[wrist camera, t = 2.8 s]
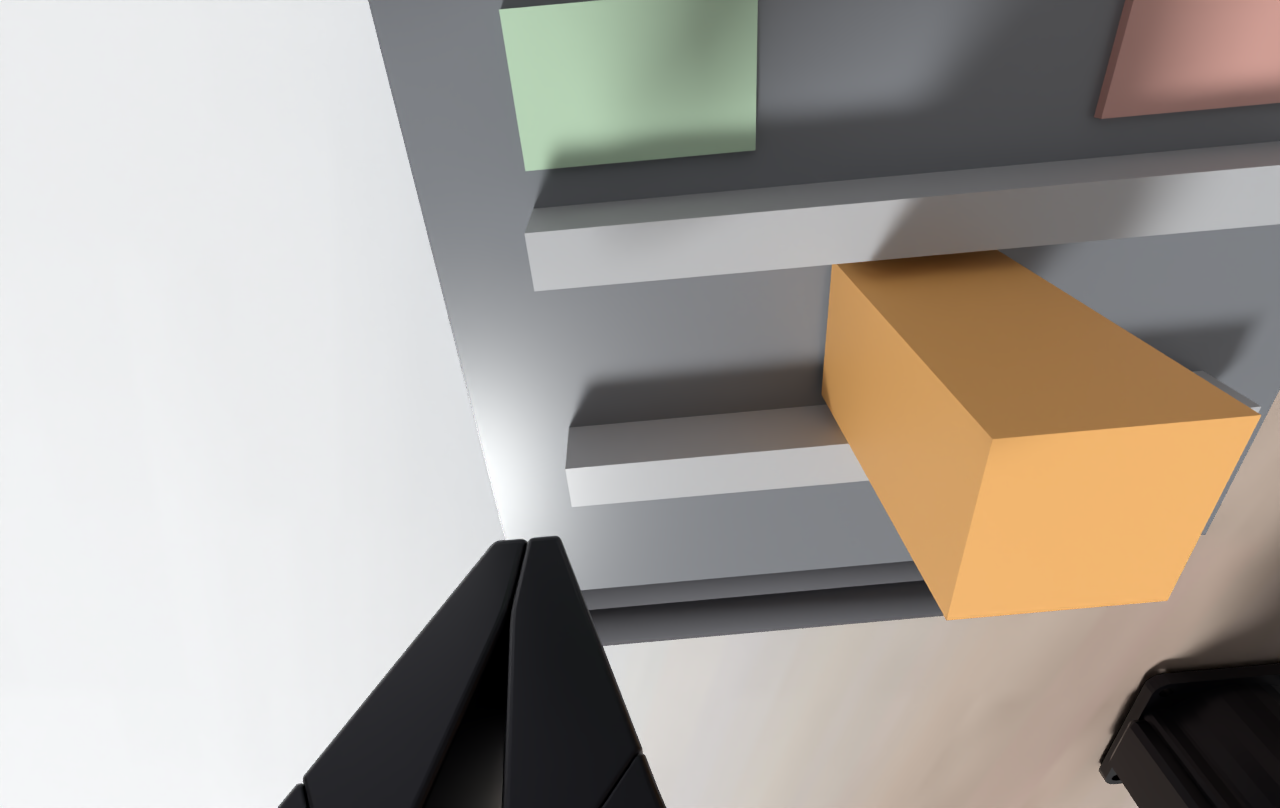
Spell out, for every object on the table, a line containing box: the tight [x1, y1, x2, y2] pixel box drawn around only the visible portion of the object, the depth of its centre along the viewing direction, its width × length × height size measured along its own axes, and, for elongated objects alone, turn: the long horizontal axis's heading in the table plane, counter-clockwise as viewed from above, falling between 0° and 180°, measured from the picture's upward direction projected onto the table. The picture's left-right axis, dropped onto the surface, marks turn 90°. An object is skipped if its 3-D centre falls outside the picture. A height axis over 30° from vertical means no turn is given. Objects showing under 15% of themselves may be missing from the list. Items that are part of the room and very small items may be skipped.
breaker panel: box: [368, 0, 1280, 590], centre depth 13 cm, size 18×14×4 cm
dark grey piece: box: [581, 561, 944, 646], centre depth 19 cm, size 19×3×1 cm, turn 94°
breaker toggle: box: [821, 250, 1261, 620], centre depth 11 cm, size 3×3×6 cm
